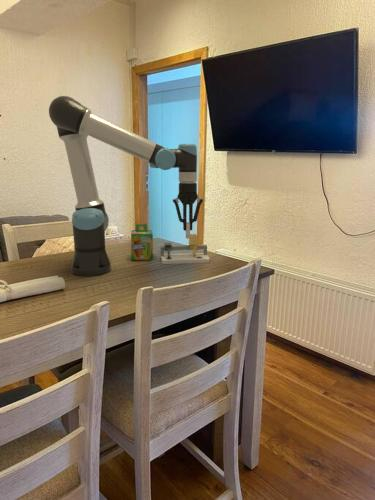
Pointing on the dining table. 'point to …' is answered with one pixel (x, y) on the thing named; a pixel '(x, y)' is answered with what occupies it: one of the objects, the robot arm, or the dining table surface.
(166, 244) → the fixed leg
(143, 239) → the chalk box
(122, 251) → the dining table surface
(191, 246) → the block
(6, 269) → the dining table surface
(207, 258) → the hole plate
